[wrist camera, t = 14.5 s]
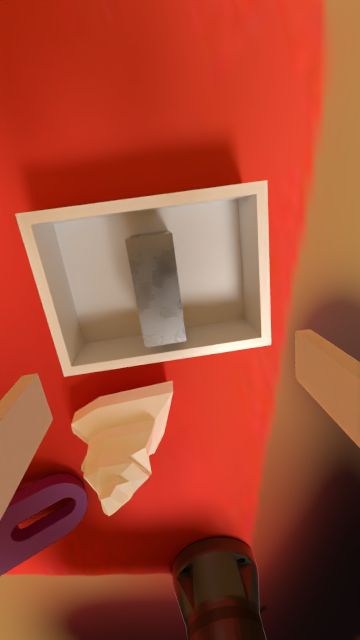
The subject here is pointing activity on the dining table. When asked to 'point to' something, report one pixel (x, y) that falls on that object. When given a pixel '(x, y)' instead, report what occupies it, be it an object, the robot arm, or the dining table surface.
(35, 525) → the mounting bracket
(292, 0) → the dining table surface
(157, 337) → the brushed metal block
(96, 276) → the cream rectangular tray
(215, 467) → the dining table surface
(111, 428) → the cream faceted chunk
